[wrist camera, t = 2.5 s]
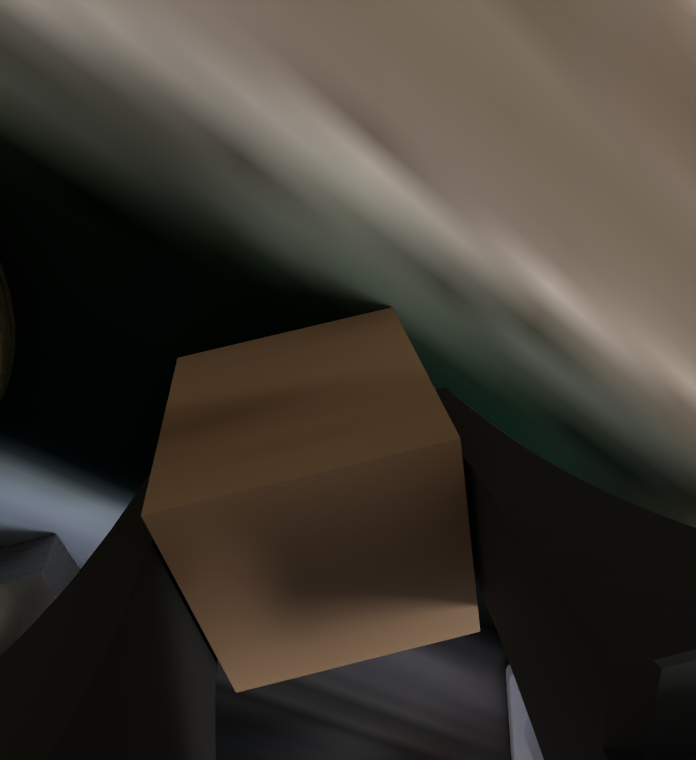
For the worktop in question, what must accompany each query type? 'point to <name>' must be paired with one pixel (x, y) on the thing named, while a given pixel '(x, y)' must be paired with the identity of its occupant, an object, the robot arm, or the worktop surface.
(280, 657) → the block
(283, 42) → the worktop surface
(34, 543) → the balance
